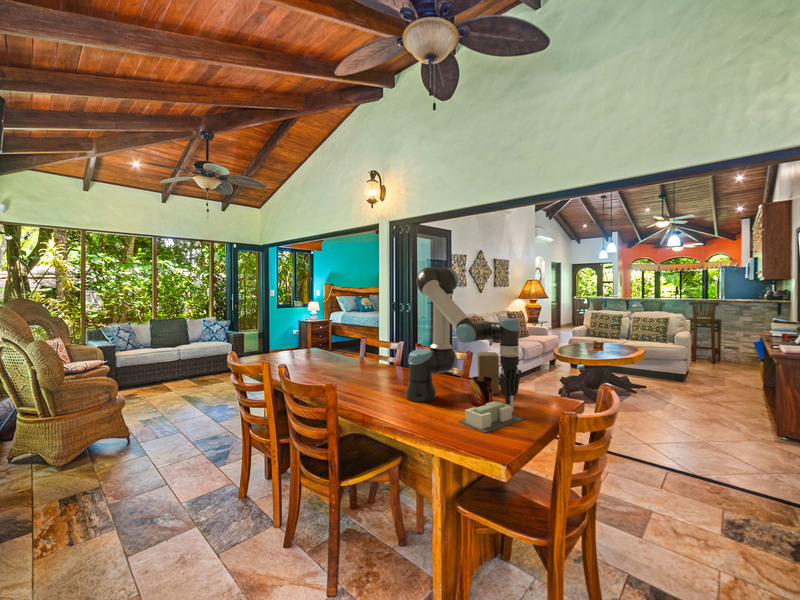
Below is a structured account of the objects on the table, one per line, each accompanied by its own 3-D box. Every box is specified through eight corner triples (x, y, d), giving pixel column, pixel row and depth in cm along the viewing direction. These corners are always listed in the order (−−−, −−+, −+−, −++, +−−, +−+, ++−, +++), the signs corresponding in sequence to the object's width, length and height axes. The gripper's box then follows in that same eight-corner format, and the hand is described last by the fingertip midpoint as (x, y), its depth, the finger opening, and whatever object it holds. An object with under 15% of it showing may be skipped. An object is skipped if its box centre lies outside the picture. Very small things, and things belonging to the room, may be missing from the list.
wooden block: (477, 388, 191) (477, 351, 190) (496, 389, 190) (496, 351, 189) (479, 394, 181) (478, 355, 180) (499, 394, 180) (499, 355, 179)
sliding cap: (485, 415, 149) (485, 403, 149) (495, 412, 153) (495, 400, 152) (502, 421, 142) (502, 409, 142) (512, 418, 145) (512, 406, 145)
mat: (458, 421, 144) (458, 420, 144) (498, 410, 157) (498, 409, 157) (484, 433, 132) (484, 432, 132) (525, 419, 146) (525, 418, 146)
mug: (491, 411, 155) (490, 384, 155) (466, 404, 166) (466, 378, 166) (504, 407, 161) (504, 380, 161) (480, 399, 172) (480, 375, 172)
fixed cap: (465, 422, 143) (465, 409, 142) (474, 419, 145) (474, 407, 145) (481, 429, 135) (481, 416, 135) (491, 426, 138) (491, 413, 138)
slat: (474, 423, 141) (473, 408, 141) (497, 415, 149) (497, 401, 149) (480, 425, 138) (480, 410, 138) (504, 418, 146) (504, 403, 146)
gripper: (505, 358, 143) (506, 416, 144) (526, 354, 150) (527, 410, 151) (491, 355, 150) (492, 411, 150) (512, 352, 157) (512, 405, 157)
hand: (509, 410), depth 151 cm, fingers closed
